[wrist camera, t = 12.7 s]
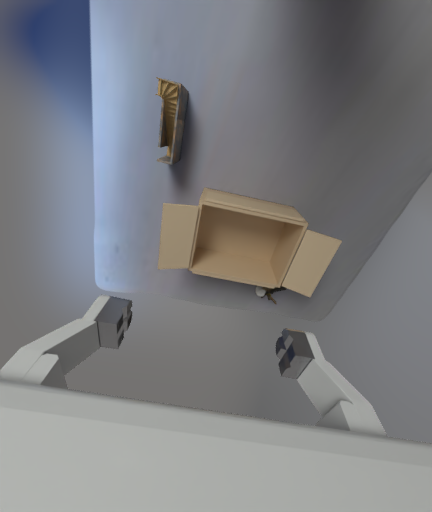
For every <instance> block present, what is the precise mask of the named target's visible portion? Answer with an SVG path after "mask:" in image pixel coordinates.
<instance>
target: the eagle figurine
mask: <svg viewBox="0 0 432 512" xmlns="http://www.w3.org/2000/svg"><path fill="white" fill-rule="evenodd" d="M283 281H284V280H283ZM283 281H282V283H283ZM282 283H281V286H280V288H278V287H275V288H274V289H273V288H267V287H262V286H257V287H256V290H255V292H256V294H257V295H258V296H260V297H261V298H263V297H264V296H265V295H267V297H268V300H272V301H273V302H274V303H275V304H276V301H275V300H274V299H273V298H272V297H271V295H270V294H273V292H276V291H279V290H280V291H281V290H286V289H287V288H285V287H283V286H282Z"/></svg>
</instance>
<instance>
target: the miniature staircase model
mask: <svg viewBox="0 0 432 512" xmlns="http://www.w3.org/2000/svg"><path fill="white" fill-rule="evenodd" d="M156 78H157V77H156ZM157 79H159V84H158V94H156V95H159V96H161V98H162V109H161V121H160V133H159V145H158V147H164V146H168V150H167V156H164V157H161V158H159V159H157V161H158V162H163V163H167V164H171V165H172V164H174V163H176V162H177V161H179V160H180V153H181V145H182V137H183V130H184V122H185V115H186V107H187V99H188V91H187V90H186V89H185V87H184V86H183V85H182V84H180V83H177V82H173V81H170V80H166V79H164V80H163V79H160V78H157Z"/></svg>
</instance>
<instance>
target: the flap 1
mask: <svg viewBox="0 0 432 512" xmlns="http://www.w3.org/2000/svg"><path fill="white" fill-rule="evenodd" d="M198 209H199V207H198V206H192V205H180V204H167V203H163V212H162V224H161V236H160V248H159V261H158V269H179V268H189V262H190V256H191V250H192V244H193V238H194V232H195V226H196V220H197V214H198Z"/></svg>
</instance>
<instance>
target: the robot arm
mask: <svg viewBox="0 0 432 512" xmlns="http://www.w3.org/2000/svg"><path fill="white" fill-rule="evenodd" d="M131 307H132V301H131V300H126V299H121V298H117V297H111V296H106V295H100V296H99V297H98V298H97V299H96V301H95V302H94V303H93V305H92V306H91V307H90V309H89V310H88V311H87V313H86V314H85V315H84V317H83V318H82V319H77V320H75V321H73V322H71V323H69V324H67V325H65V326H63V327H61V328H59V329H57V330H55V331H53V332H51V333H49V334H47V335H46V336H43V337H42V338H39V339H37V340H36V341H34V342H32V343H30V344H28V345H26V346H24V347H22V348H20V349H19V350H18V352H17V353H16V354H15V355H14V356H13V357H12V358H11V359H10V360H9V361H8V362H7V363H6V364H5V366H4V367H3V368H2V369H1V370H0V512H432V443H426V442H420V441H413V440H406V439H400V438H393V437H388V436H387V434H386V433H385V431H384V429H383V427H382V425H381V423H380V421H379V419H378V417H377V415H376V413H375V411H374V409H373V407H372V405H371V404H370V403H369V402H368V401H367V400H366V399H365V398H364V397H363V396H362V395H361V394H360V393H359V392H358V391H357V390H356V389H355V388H354V387H353V386H352V385H351V384H350V383H349V382H348V381H347V380H346V379H345V378H344V377H343V376H342V375H341V374H340V373H339V372H338V371H337V370H336V369H335V368H334V367H333V366H332V365H331V364H330V363H329V362H327V361H325V359H324V356H323V354H322V352H321V349H320V347H319V345H318V342H317V340H316V338H315V335H314V334H313V333H310V332H304V331H299V330H292V329H287V328H285V329H284V330H283V331H282V336H281V337H279V338H278V340H277V342H276V354H277V357H278V358H279V359H280V362H279V368H280V373H281V376H283V377H288V378H293V379H297V381H298V382H299V384H300V385H301V387H302V388H303V390H304V391H305V393H306V394H307V396H308V397H309V398H310V400H311V401H312V403H313V404H314V406H315V407H316V409H317V410H318V412H319V413H320V414H321V416H322V417H323V418H322V419H321V420H319V421H318V422H317V423H316V425H315V426H312V425H305V424H299V423H292V422H285V421H279V420H272V419H265V418H259V417H252V416H245V415H239V414H232V413H225V412H218V411H212V410H205V409H198V408H192V407H185V406H178V405H172V404H165V403H157V402H151V401H144V400H138V399H131V398H124V397H118V396H111V395H104V394H98V393H91V392H84V391H78V390H70V389H68V387H67V384H66V381H65V377H64V375H66V374H67V373H68V372H69V371H71V370H72V369H73V368H75V367H76V366H77V365H79V364H80V363H81V362H82V361H84V360H85V359H86V358H87V357H89V356H90V355H91V354H92V353H94V352H95V351H96V350H98V349H99V348H100V347H106V348H113V349H118V348H119V346H120V344H121V342H122V340H123V338H124V332H125V331H127V330H128V328H129V326H130V323H131V319H132V311H131V310H130V309H131Z"/></svg>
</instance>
